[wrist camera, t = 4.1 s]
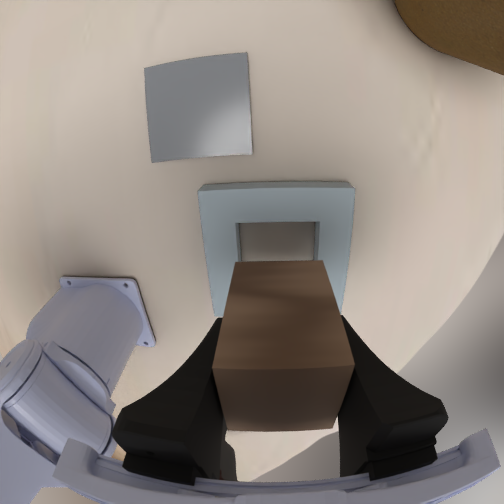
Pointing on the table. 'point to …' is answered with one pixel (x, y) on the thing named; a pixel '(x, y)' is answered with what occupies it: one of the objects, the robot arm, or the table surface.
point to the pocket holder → (275, 210)
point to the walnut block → (281, 349)
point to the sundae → (227, 459)
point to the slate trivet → (199, 107)
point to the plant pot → (459, 28)
